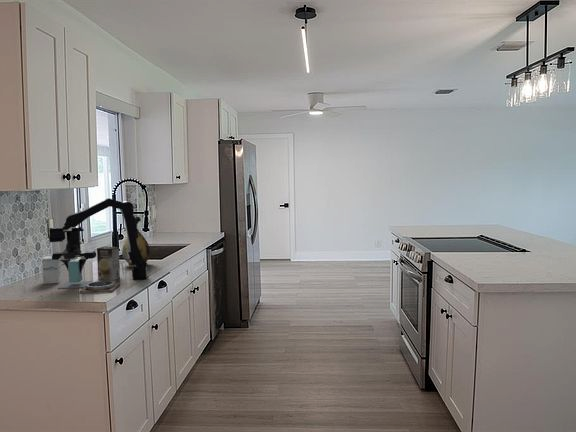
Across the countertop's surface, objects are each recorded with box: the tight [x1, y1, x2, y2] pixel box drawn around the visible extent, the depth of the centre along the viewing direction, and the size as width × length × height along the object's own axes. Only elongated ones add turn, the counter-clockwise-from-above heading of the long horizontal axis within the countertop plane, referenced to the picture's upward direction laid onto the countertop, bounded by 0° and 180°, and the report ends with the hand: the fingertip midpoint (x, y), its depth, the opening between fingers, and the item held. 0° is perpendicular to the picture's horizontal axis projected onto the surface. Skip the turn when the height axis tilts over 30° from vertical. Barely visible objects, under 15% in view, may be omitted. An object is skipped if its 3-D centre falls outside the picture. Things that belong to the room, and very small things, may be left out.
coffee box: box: [96, 245, 121, 281], centre depth 234 cm, size 9×6×16 cm
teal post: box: [67, 259, 83, 283], centre depth 220 cm, size 4×4×10 cm
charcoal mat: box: [57, 280, 94, 290], centre depth 220 cm, size 12×12×1 cm
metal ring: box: [86, 280, 116, 290], centre depth 213 cm, size 12×12×2 cm
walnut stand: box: [79, 282, 121, 294], centre depth 213 cm, size 14×14×1 cm
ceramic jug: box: [121, 215, 151, 268], centre depth 265 cm, size 17×15×30 cm
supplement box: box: [41, 255, 63, 285], centre depth 227 cm, size 7×7×13 cm
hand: (75, 273), depth 220 cm, fingers closed on teal post, 4 cm apart
